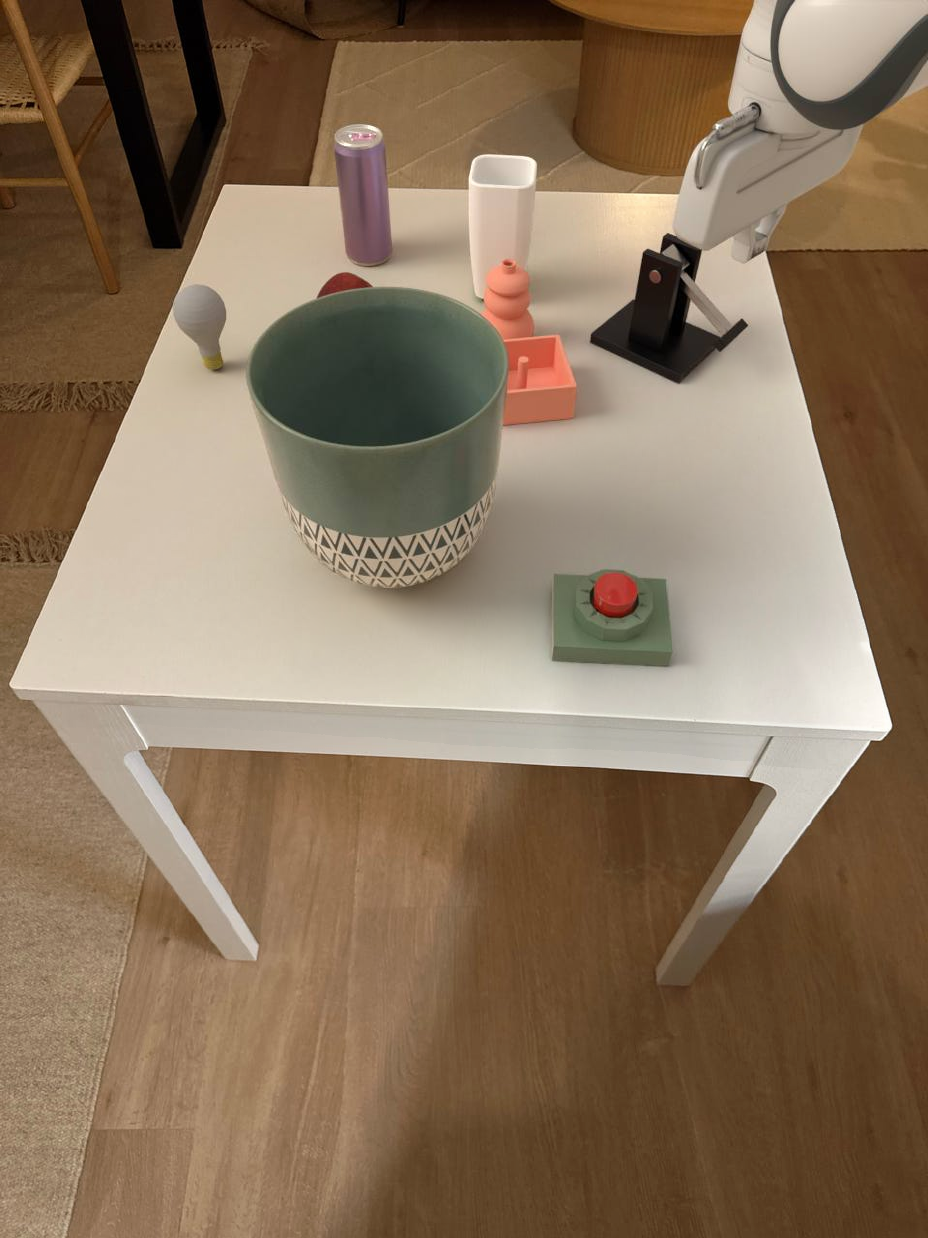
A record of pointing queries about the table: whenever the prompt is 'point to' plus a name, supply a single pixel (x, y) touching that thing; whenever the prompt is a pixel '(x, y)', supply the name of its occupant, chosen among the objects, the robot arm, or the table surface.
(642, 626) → the control block
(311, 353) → the planter
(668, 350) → the bracket
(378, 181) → the beverage can
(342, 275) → the apple
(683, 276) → the lever
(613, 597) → the button
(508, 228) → the cup
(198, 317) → the light bulb
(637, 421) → the table surface
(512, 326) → the pottery
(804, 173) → the robot arm
